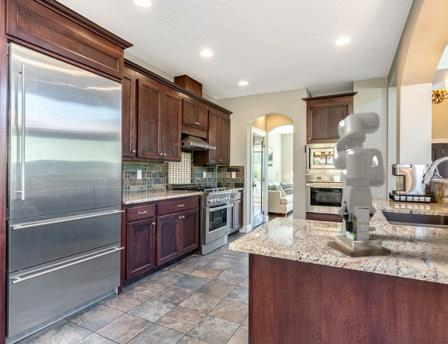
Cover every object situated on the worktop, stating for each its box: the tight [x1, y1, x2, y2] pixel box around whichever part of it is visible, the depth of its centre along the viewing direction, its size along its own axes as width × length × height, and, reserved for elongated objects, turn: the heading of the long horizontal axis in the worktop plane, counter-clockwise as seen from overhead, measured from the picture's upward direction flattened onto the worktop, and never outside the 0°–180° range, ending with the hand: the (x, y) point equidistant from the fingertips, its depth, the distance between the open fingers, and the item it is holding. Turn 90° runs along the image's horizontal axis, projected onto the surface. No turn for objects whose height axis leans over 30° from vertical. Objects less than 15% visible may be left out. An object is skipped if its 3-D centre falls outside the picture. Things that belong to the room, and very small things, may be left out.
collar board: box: [326, 234, 392, 258], centre depth 98 cm, size 16×14×4 cm
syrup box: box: [347, 206, 370, 241], centre depth 98 cm, size 6×6×14 cm
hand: (357, 230), depth 98 cm, fingers closed on syrup box, 6 cm apart
